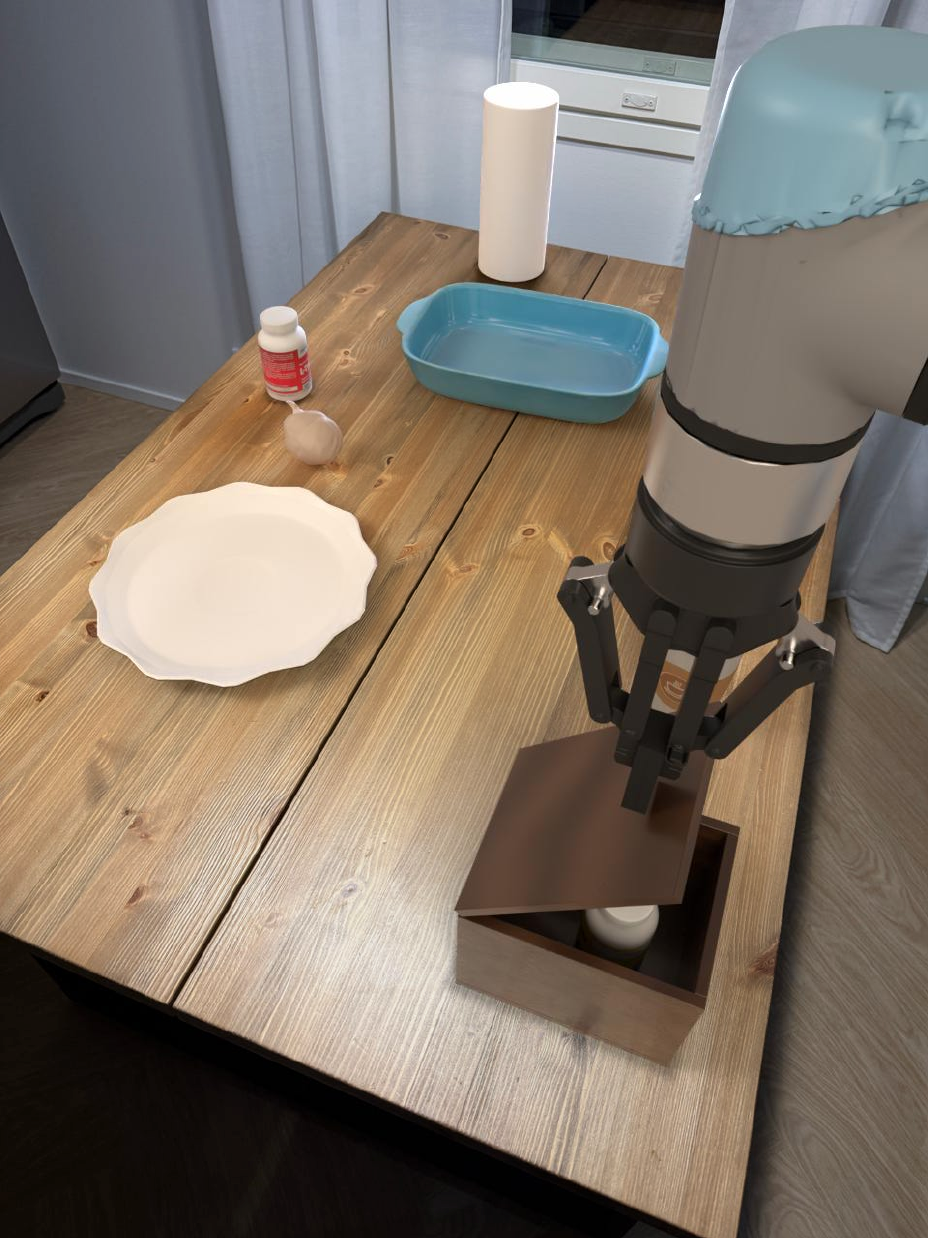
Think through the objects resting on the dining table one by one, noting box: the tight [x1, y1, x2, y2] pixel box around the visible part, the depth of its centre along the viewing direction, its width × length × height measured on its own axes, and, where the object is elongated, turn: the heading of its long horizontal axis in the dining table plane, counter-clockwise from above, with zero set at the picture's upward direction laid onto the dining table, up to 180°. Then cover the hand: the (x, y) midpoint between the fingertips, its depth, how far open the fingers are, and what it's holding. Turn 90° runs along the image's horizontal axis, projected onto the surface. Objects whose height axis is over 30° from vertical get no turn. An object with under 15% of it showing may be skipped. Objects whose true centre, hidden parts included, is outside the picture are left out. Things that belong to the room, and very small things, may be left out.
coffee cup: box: [651, 650, 745, 713], centre depth 81 cm, size 8×8×15 cm
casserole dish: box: [396, 282, 670, 425], centre depth 120 cm, size 37×22×7 cm, turn 72°
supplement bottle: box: [577, 905, 659, 971], centre depth 67 cm, size 5×5×10 cm
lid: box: [453, 700, 722, 916], centre depth 57 cm, size 18×14×1 cm
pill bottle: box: [257, 305, 313, 402], centre depth 116 cm, size 6×6×11 cm
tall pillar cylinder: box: [477, 81, 560, 283], centre depth 135 cm, size 11×11×25 cm
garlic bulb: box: [282, 400, 344, 466], centre depth 108 cm, size 7×6×8 cm
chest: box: [455, 814, 741, 1068], centre depth 67 cm, size 17×14×13 cm
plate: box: [88, 481, 378, 689], centre depth 95 cm, size 29×29×2 cm
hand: (638, 791), depth 53 cm, fingers closed
